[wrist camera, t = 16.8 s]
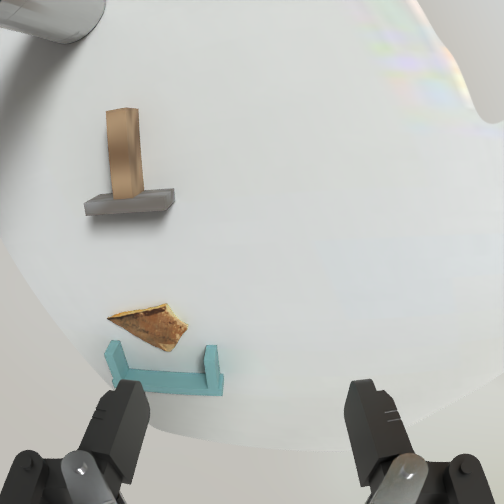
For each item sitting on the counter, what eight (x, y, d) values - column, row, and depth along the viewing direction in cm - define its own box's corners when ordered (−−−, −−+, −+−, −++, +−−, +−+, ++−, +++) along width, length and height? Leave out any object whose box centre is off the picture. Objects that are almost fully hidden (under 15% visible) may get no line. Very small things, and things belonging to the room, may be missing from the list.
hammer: (93, 116, 32) (75, 117, 28) (169, 104, 32) (157, 102, 28) (101, 205, 37) (85, 215, 33) (175, 200, 37) (165, 210, 33)
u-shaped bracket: (109, 340, 45) (101, 353, 42) (220, 345, 45) (217, 361, 42) (120, 373, 48) (114, 387, 45) (224, 380, 48) (222, 395, 45)
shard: (110, 313, 44) (105, 319, 42) (127, 276, 41) (122, 282, 40) (171, 348, 46) (169, 356, 44) (194, 315, 43) (191, 323, 42)
